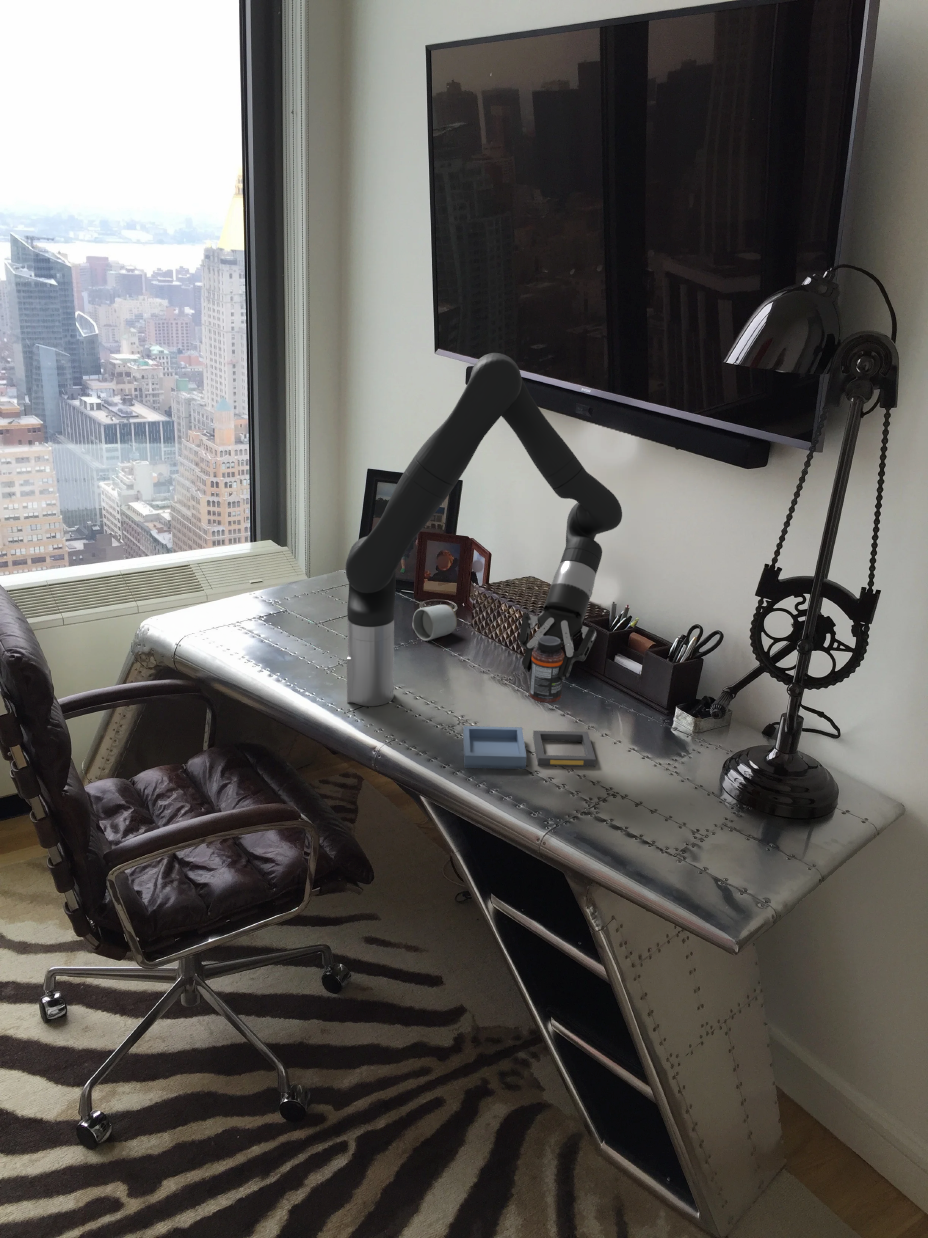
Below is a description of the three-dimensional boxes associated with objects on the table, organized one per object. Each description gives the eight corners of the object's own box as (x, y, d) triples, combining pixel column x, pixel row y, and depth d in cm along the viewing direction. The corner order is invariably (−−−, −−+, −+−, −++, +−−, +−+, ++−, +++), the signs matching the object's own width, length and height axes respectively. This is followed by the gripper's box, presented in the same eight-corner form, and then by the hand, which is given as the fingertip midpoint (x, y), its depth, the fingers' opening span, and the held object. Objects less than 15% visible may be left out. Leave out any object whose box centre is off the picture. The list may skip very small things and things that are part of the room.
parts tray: (464, 767, 177) (464, 755, 176) (463, 737, 187) (463, 726, 187) (525, 769, 178) (526, 756, 177) (521, 739, 188) (521, 727, 187)
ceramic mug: (459, 636, 233) (459, 605, 230) (432, 645, 228) (433, 614, 225) (429, 623, 240) (429, 594, 237) (403, 632, 235) (403, 601, 232)
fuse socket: (537, 765, 179) (538, 758, 178) (532, 737, 189) (533, 730, 188) (595, 767, 179) (595, 759, 179) (587, 738, 189) (587, 731, 188)
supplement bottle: (539, 686, 183) (544, 630, 179) (567, 696, 180) (572, 639, 176) (522, 697, 179) (526, 640, 174) (550, 707, 176) (556, 649, 171)
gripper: (529, 575, 181) (501, 657, 175) (605, 589, 176) (579, 675, 170) (537, 593, 187) (510, 673, 182) (610, 607, 182) (585, 691, 177)
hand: (543, 674), depth 176 cm, fingers closed on supplement bottle, 6 cm apart
